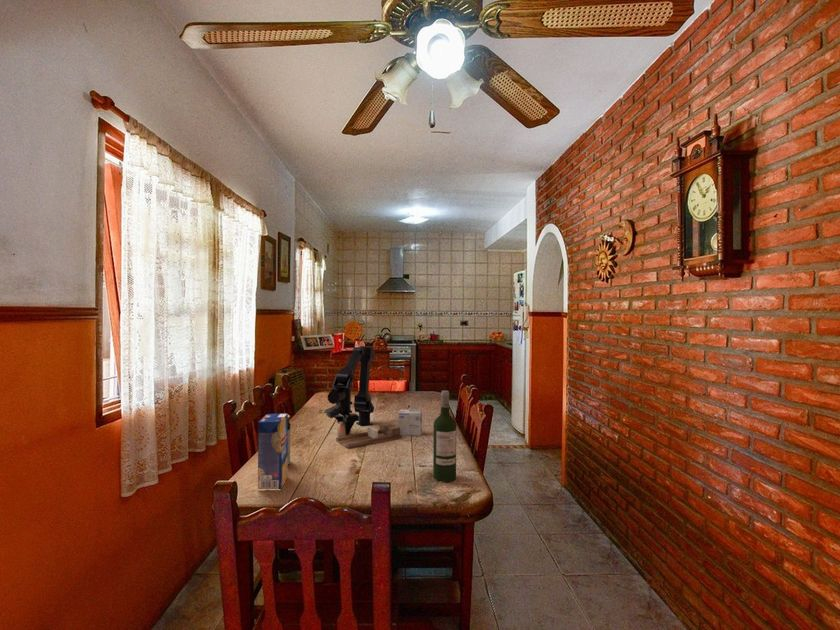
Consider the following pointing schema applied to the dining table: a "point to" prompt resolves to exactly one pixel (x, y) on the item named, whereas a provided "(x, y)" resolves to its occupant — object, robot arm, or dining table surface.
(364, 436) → the lane
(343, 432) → the jar
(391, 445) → the dining table surface
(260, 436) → the beverage box
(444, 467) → the wine bottle
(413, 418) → the white carton
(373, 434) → the bar
